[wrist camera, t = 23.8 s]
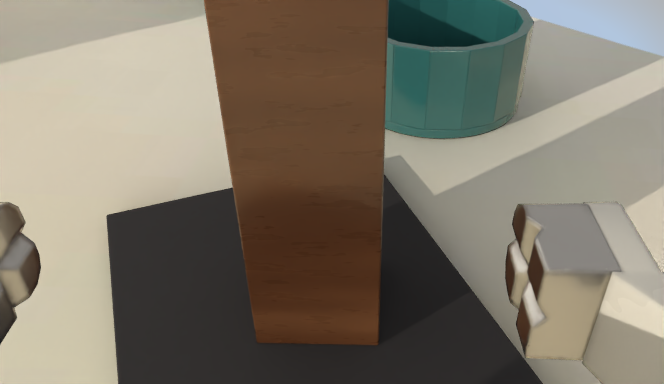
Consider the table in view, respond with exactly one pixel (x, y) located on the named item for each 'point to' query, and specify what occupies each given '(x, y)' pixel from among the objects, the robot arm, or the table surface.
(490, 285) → the table surface
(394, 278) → the charcoal mat
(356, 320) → the pepper mill
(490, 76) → the teal cup
